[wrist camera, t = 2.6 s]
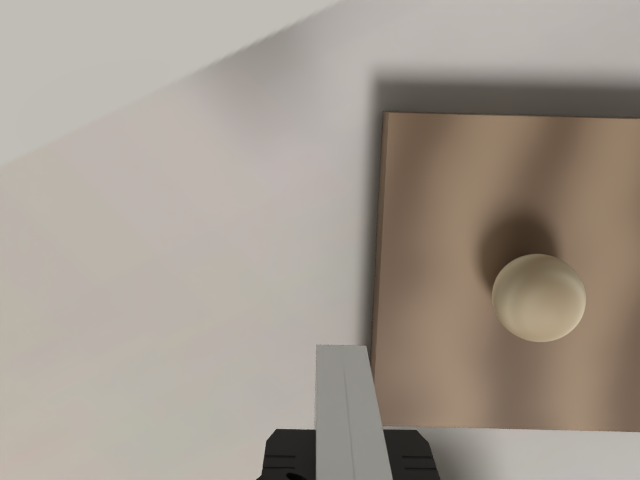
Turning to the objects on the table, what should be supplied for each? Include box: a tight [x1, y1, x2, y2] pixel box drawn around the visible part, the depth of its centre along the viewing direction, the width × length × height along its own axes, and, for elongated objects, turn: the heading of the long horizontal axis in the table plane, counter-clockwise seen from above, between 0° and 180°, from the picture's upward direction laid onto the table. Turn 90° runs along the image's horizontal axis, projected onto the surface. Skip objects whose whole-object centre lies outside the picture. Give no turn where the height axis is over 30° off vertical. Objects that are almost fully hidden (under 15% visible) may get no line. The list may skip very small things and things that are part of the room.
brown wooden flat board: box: [370, 112, 640, 432], centre depth 29 cm, size 24×16×2 cm, turn 89°
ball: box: [492, 254, 586, 342], centre depth 26 cm, size 4×4×4 cm
